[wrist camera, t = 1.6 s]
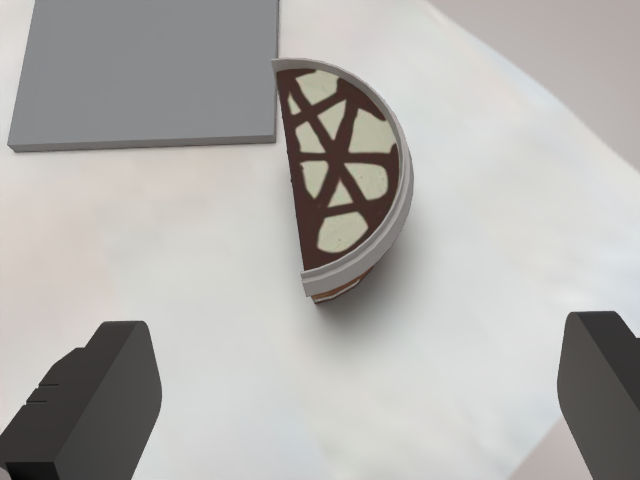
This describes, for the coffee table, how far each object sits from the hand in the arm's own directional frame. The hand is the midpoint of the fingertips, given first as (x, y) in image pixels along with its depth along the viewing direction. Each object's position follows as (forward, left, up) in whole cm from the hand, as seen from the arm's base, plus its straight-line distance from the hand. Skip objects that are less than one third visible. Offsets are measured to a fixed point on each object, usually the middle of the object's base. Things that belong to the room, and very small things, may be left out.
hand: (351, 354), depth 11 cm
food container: (0, +11, -23) cm, 25 cm away
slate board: (-14, +26, -23) cm, 37 cm away
